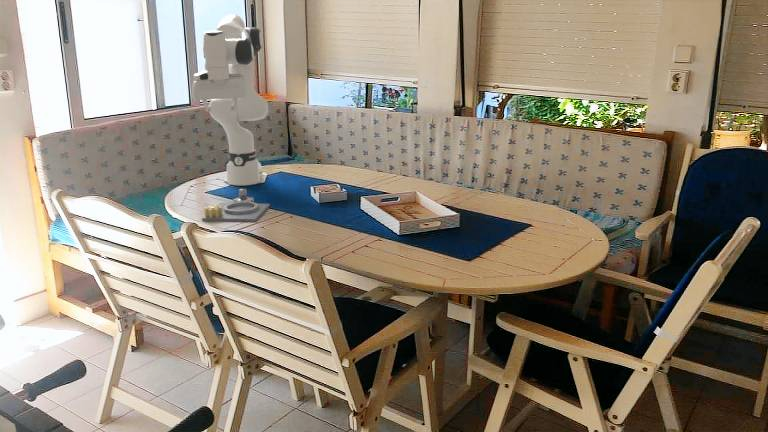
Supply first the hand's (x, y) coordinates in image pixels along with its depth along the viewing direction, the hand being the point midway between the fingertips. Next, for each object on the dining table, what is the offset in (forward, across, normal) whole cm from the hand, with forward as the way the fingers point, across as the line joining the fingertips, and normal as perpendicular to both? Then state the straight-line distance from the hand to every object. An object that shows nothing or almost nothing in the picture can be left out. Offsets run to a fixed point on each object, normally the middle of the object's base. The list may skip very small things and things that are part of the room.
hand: (220, 110), depth 246 cm
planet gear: (+37, -5, +5) cm, 38 cm away
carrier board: (+37, +1, +18) cm, 41 cm away
